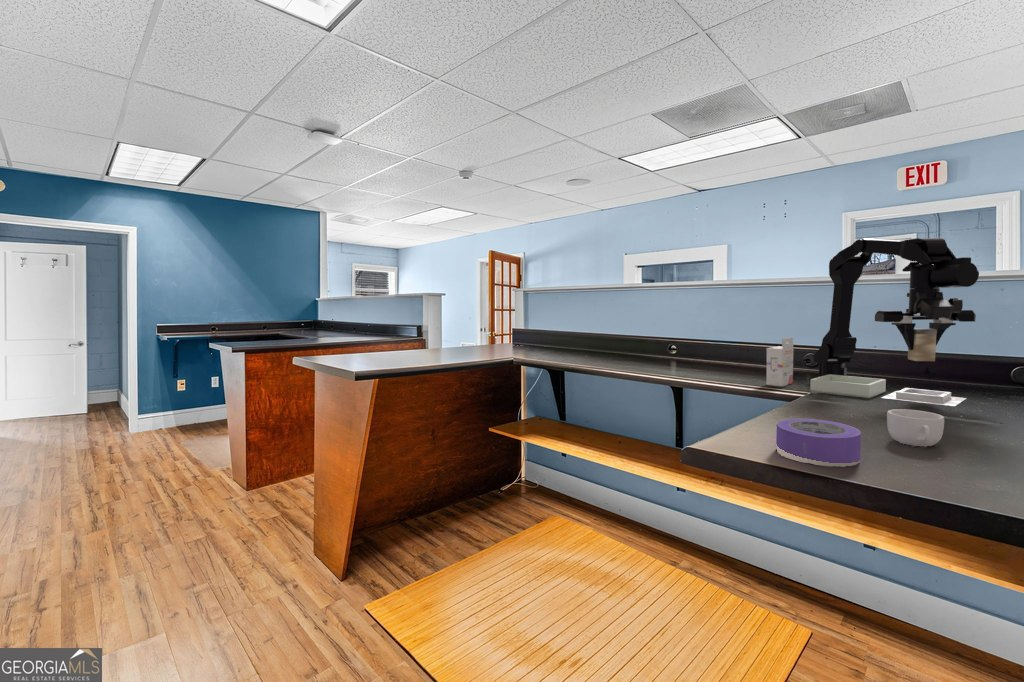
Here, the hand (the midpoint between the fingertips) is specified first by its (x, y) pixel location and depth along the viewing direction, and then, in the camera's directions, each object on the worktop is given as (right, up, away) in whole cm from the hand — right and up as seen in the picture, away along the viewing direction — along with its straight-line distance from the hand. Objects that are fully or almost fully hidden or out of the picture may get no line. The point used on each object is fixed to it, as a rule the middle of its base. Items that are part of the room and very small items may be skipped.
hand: (921, 350), depth 118 cm
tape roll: (-53, -17, -41) cm, 69 cm away
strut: (0, -3, 0) cm, 3 cm away
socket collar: (+1, -13, 0) cm, 13 cm away
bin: (-11, -12, +11) cm, 20 cm away
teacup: (-33, -16, -36) cm, 51 cm away
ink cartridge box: (-20, -12, +28) cm, 36 cm away
